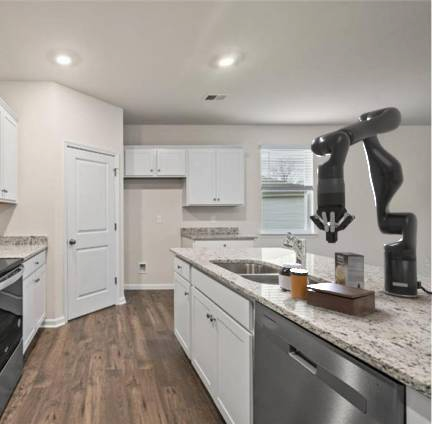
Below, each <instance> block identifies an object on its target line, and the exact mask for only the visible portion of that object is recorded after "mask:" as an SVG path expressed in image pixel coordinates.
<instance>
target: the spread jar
mask: <svg viewBox="0 0 432 424" xmlns="http://www.w3.org/2000/svg"><path fill="white" fill-rule="evenodd" d="M291 269H299V270H303V264H301V263H297V262H283V263H282V268H281V269H280V270H279V272H278V285H279V288H280V289H281V290H282V291H283V292H286V293H287V292H291V274H290V270H291ZM309 285H310V279H309V278H308V277H307V286H309Z"/></svg>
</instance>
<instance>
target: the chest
mask: <svg viewBox="0 0 432 424" xmlns="http://www.w3.org/2000/svg"><path fill="white" fill-rule="evenodd" d="M306 305H309V306H312V307H317V308H320V309H325V310H328V311H332V312H336V313H340V314H344V315H348V316H351V317H355V316H359V315H362V314H364V313H367V312H370V311H373V310H375V309H376V293H375V294H370V295H365V296H360V297H355V298H349V297H344V296H339V295H335V294H330V293H325V292H321V291H316V290H311V289H308V290H307V299H306Z"/></svg>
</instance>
